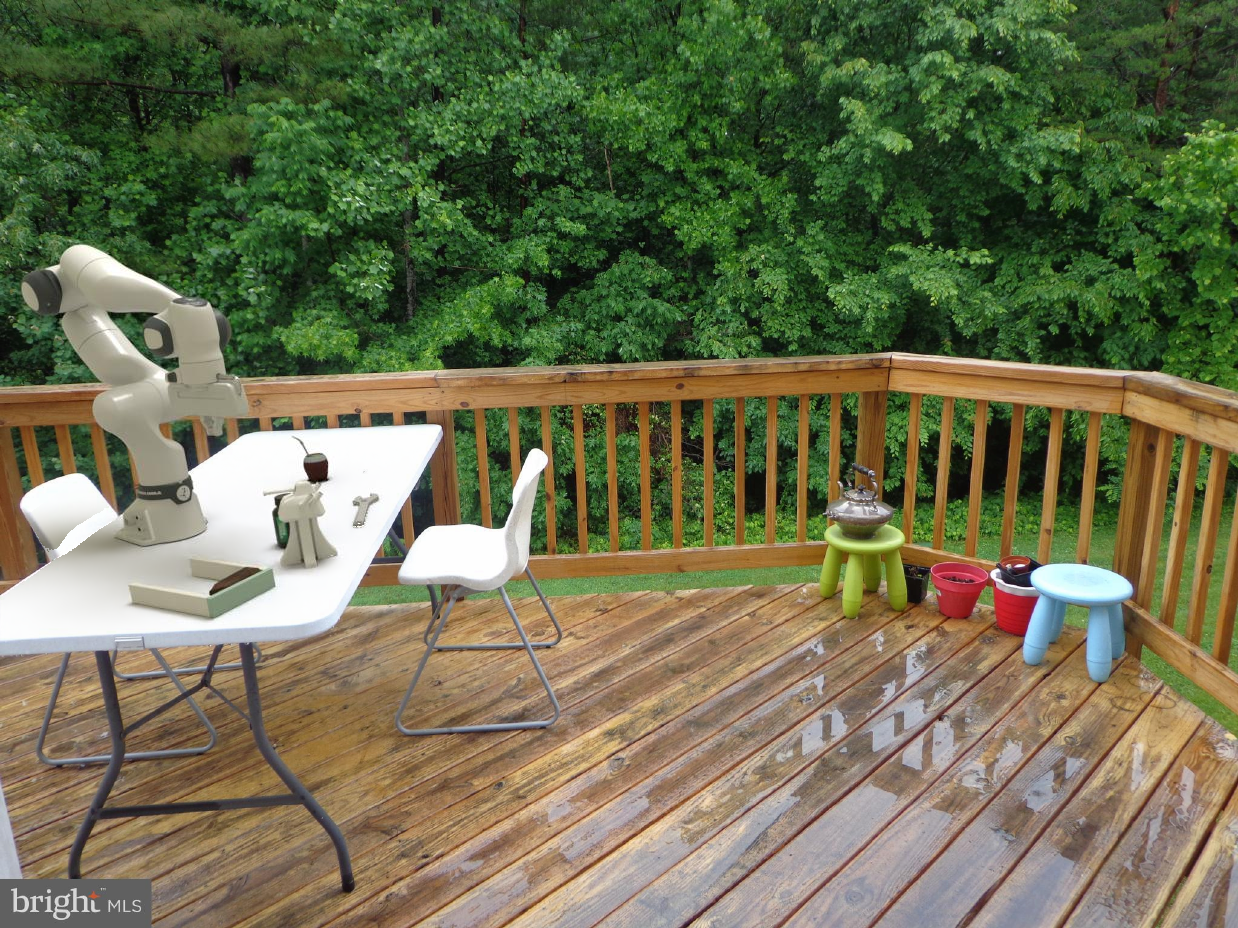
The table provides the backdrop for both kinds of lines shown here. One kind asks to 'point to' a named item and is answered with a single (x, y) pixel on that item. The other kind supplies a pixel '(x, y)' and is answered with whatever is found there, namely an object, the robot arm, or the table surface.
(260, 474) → the table surface
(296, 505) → the toy gun turret
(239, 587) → the bay
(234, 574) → the brick
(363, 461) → the table surface
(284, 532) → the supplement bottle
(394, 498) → the table surface
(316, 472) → the mate gourd
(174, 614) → the table surface
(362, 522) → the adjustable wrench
